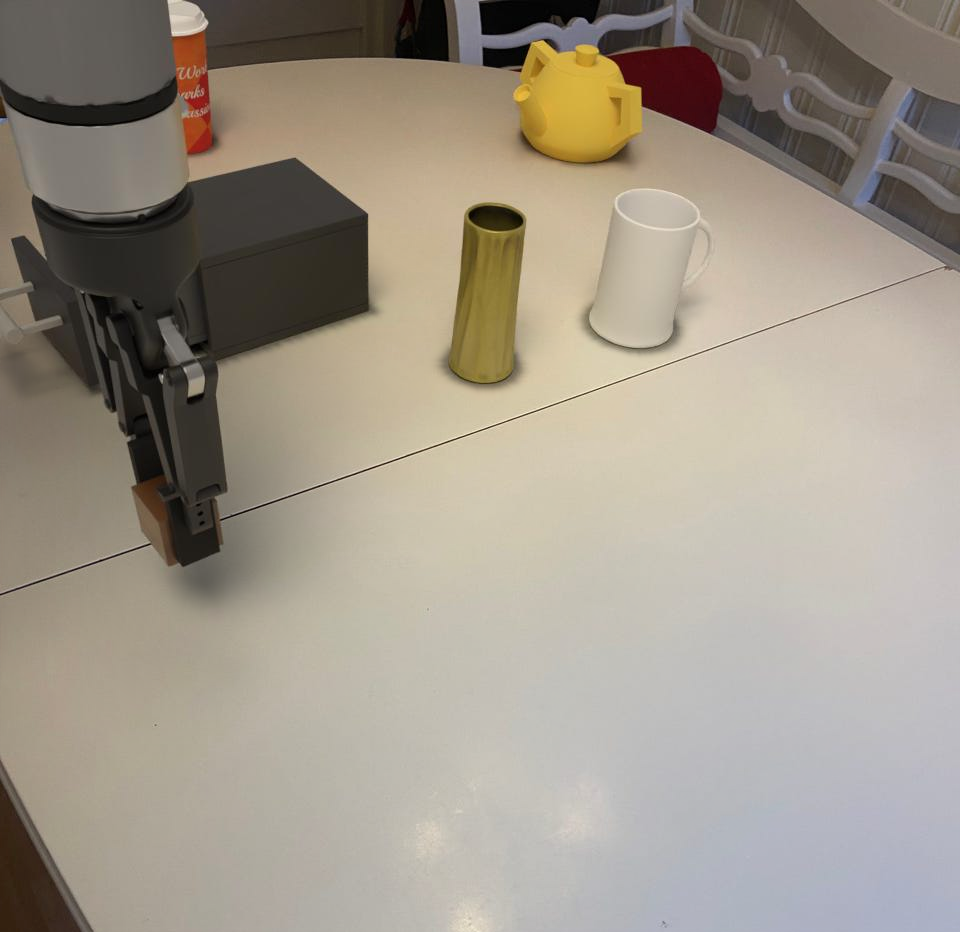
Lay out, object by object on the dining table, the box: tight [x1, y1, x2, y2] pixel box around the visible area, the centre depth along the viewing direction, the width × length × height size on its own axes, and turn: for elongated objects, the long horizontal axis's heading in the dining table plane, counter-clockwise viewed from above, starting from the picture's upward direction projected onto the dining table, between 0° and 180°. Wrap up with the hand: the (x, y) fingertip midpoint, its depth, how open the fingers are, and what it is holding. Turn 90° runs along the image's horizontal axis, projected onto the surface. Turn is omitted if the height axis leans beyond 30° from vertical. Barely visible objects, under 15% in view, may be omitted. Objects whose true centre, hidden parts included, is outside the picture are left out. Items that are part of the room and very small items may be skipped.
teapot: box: [513, 39, 643, 164], centre depth 119 cm, size 20×18×11 cm
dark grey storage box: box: [187, 157, 370, 362], centre depth 90 cm, size 17×13×10 cm
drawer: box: [0, 235, 207, 388], centre depth 84 cm, size 20×12×8 cm, turn 128°
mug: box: [588, 187, 716, 349], centre depth 93 cm, size 12×8×12 cm
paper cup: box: [168, 0, 213, 154], centre depth 109 cm, size 8×8×14 cm
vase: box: [448, 201, 527, 384], centre depth 85 cm, size 6×6×14 cm
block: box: [130, 474, 224, 568], centre depth 63 cm, size 4×4×4 cm
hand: (182, 534), depth 64 cm, fingers closed on block, 4 cm apart
